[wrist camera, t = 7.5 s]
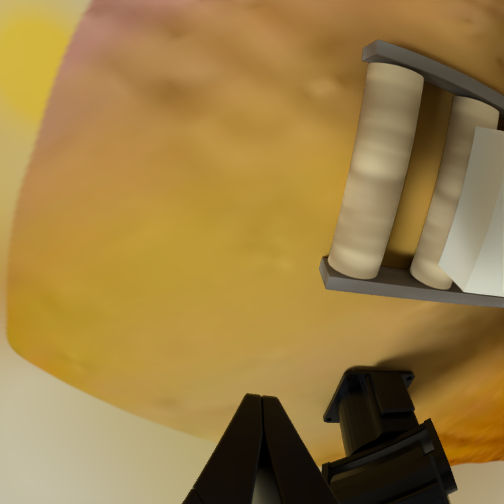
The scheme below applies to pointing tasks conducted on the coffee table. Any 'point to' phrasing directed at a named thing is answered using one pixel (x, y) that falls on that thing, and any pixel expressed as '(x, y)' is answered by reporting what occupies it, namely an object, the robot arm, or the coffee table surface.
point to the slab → (479, 220)
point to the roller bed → (393, 176)
